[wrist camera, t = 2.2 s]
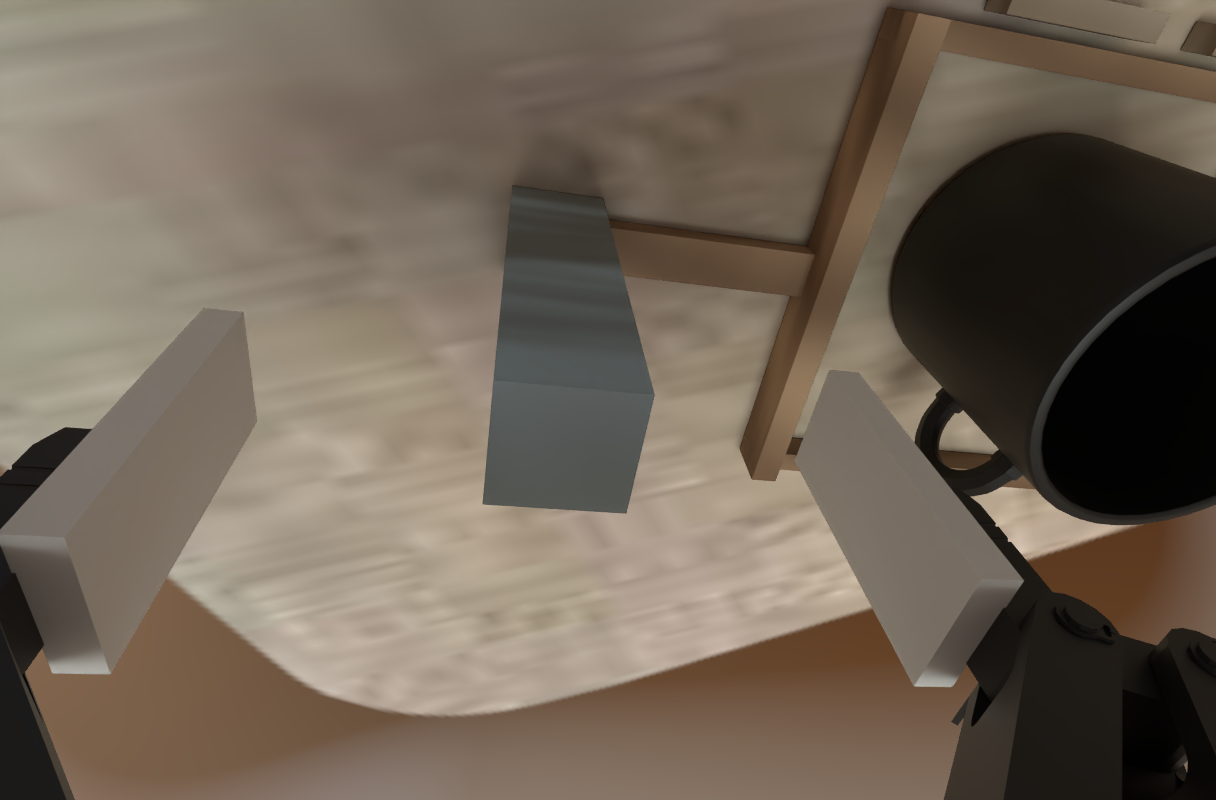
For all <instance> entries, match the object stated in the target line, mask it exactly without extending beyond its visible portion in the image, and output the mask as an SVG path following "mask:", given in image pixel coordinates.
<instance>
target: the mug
mask: <svg viewBox="0 0 1216 800" xmlns="http://www.w3.org/2000/svg"><path fill="white" fill-rule="evenodd" d="M892 306H893V316H894V320H895V324H896V328H897V331H898V333H899V335H900V337H901V339H902V341H903V343H904V344H905V346H906V347H907V348H908V350H909V351H910V352H911V353H912V354H913V355H914V357H915V358H916V359H917V360H918V361H919V362H920V363H921V364H922V365H923V366H924V368H925V369H926V370H927V371H928V372H929V373H930V374H931V375H932V376H933V377H934V378H935V380H936V381H937V382H938V383H939V384H940V385H941V386H942V387H943V388H942V389H941V390H940V391H938V392H937V393H936V399H935V400H934V401H933V403H932V404H931V405H930V406H929V408H928V409H927V410H926V412H925V413H924V415H923V417H922V419H921V421H920V423H919V426H918V429H917V432H916V436H915V444H916V445H917V447H918V448H919V449H920V451H921V452H922V453H923V454H924V456H925V457H926V458H927V459H928V461H929V462H930V463H931V464H932V466H933V467H934V468H935V469H936V471H937V472H938V473H939V474H940V476H941V477H942V478H943V479H944V481H945V482H946V483H947V484H948V486H949V487H955V488H959V489H960V490H962V491H963V492H964V493H966V494H967V495H968V496H977V495H982V494H987V493H990V492H992V491H994V490H996V489H998V488H1000V487H1001V486H1003V485H1005V484H1007V483H1008V482H1010V481H1012V480H1015V481H1016V480H1018V479H1019V478H1020V477H1021V476H1024V477H1025V478H1026V479H1027V480H1028V481H1029V482H1030V484H1031V485H1032V486H1033V487H1034V488H1035V489H1036V490H1037V491H1038V492H1039V493H1040V494H1041V495H1042V497H1043V498H1044V499H1046V500H1047V501H1048V502H1049V503H1051V504H1052V505H1053V506H1054V507H1056V508H1057V509H1059V510H1061V511H1063V512H1065V513H1067V514H1069V515H1071V516H1073V517H1076V518H1079V519H1082V520H1086V521H1089V522H1093V523H1099V524H1109V525H1139V524H1146V523H1152V522H1159V521H1164V520H1169V519H1173V518H1176V517H1181V516H1185V515H1188V514H1191V513H1194V512H1197V511H1200V510H1203V509H1206V508H1209V507H1211V506H1213V505H1216V178H1213V177H1210V176H1207V175H1205V174H1202V173H1199V172H1196V171H1193V170H1190V169H1187V168H1184V167H1182V166H1179V165H1176V164H1173V163H1170V162H1167V161H1164V160H1161V159H1159V158H1156V157H1153V156H1150V155H1147V154H1144V153H1141V152H1138V151H1136V150H1133V149H1130V148H1127V147H1124V146H1121V145H1118V144H1115V143H1113V142H1110V141H1107V140H1104V139H1100V138H1096V137H1091V136H1087V135H1075V134H1060V135H1053V136H1046V137H1041V138H1036V139H1033V140H1029V141H1026V142H1022V143H1019V144H1016V145H1012V146H1010V147H1008V148H1005V149H1003V150H1001V151H999V152H996V153H994V154H992V155H990V156H988V157H987V158H985V159H983V160H982V161H980V162H978V163H977V164H975V165H973V166H972V167H970V168H969V169H968V170H966V171H965V172H964V173H962V174H961V175H960V176H959V177H957V178H956V179H955V180H954V181H952V182H951V183H950V184H949V185H948V186H947V187H946V188H945V189H944V190H943V191H942V192H941V193H940V194H939V195H938V196H937V197H936V198H935V199H934V200H933V201H932V202H931V204H930V205H929V206H928V207H927V209H926V210H925V211H924V212H923V214H922V215H921V216H920V218H919V219H918V221H917V222H916V224H915V226H914V227H913V229H912V230H911V232H910V234H909V235H908V237H907V240H906V242H905V244H904V246H903V248H902V251H901V253H900V256H899V259H898V262H897V266H896V269H895V272H894V279H893V287H892ZM962 410H964V411H965V412H966V413H967V415H968V416H969V417H970V418H971V419H972V420H973V421H974V422H975V423H976V424H977V426H978V427H979V428H980V429H981V430H982V431H983V432H984V433H985V434H986V435H987V436H988V438H989V439H990V440H991V441H992V442H993V443H994V444H995V445H996V446H997V447H998V449H999V450H998V451H996V452H995V453H994V454H993V455H992V456H991V460H989V461H987V462H986V463H984V464H982V465H980V466H978V467H976V468H972V469H968V470H956V469H952V468H950V467H948V466H947V465H946V464H945V463H944V462H943V461H942V459H941V457H940V455H939V441H940V437H941V434H942V431H943V429H944V427H945V425H946V424H947V422H948V421H949V420H950V418H951V417H952V416H953V415H954V413H960V412H961V411H962Z"/></svg>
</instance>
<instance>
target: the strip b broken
mask: <svg viewBox="0 0 1216 800" xmlns="http://www.w3.org/2000/svg"><path fill="white" fill-rule="evenodd" d="M984 10H985V11H990V12H994V13H999V14H1004V15H1009V16H1014V17H1019V18H1024V19H1029V20H1034V21H1039V22H1044V23H1049V24H1054V25H1059V26H1064V27H1069V28H1074V29H1079V30H1084V31H1089V32H1094V33H1098V34H1103V35H1108V36H1113V37H1118V38H1123V39H1129V40H1135V41H1141V42H1147V43H1153V44H1156V42H1157V40H1158V38H1159V36H1160V34H1161V32H1162V30H1163V28H1164V27H1165V25H1166V23H1167V21H1168V19H1169V17H1170V15H1171V13H1166V12H1161V11H1156V10H1152V9H1147V8H1142V7H1137V6H1133V5H1128V4H1123V3H1118V2H1114V1H1109V0H988V1H987V4H986V6H985V9H984ZM1181 50H1183V51H1188V52H1193V53H1198V54H1203V55H1207V56H1212V57H1216V24H1210V23H1202V22H1196V24H1195V26H1194V27H1193V29H1192V31H1191V33H1190V35H1189V36H1188V38H1187V40H1186V42H1185V44H1184V45H1183V47H1182V49H1181Z"/></svg>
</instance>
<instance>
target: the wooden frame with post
mask: <svg viewBox="0 0 1216 800" xmlns="http://www.w3.org/2000/svg"><path fill="white" fill-rule="evenodd" d="M939 51H945V52H950V53H955V54H961V55H966V56H971V57H977V58H982V59H987V60H992V61H998V62H1003V63H1008V64H1014V65H1019V66H1024V67H1029V68H1035V69H1040V70H1045V71H1051V72H1056V73H1061V74H1066V75H1072V76H1077V77H1082V78H1088V79H1093V80H1098V81H1103V82H1109V83H1114V84H1119V85H1125V86H1130V87H1135V88H1140V89H1146V90H1151V91H1156V92H1162V93H1167V94H1172V95H1177V96H1183V97H1188V98H1193V99H1199V100H1204V101H1209V102H1215V103H1216V72H1213V71H1208V70H1203V69H1198V68H1193V67H1188V66H1183V65H1178V64H1173V63H1167V62H1162V61H1157V60H1152V59H1147V58H1142V57H1137V56H1132V55H1127V54H1122V53H1117V52H1112V51H1107V50H1102V49H1097V48H1092V47H1087V46H1081V45H1076V44H1071V43H1066V42H1061V41H1056V40H1051V39H1046V38H1041V37H1036V36H1031V35H1026V34H1021V33H1016V32H1011V31H1006V30H1001V29H995V28H990V27H985V26H980V25H975V24H970V23H965V22H960V21H955V20H951V19H946V18H941V17H936V16H930V15H925V14H920V13H915V12H910V11H904V10H899V9H894V8H887V11H886V14H885V17H884V20H883V23H882V25H881V28H880V31H879V34H878V37H877V40H876V43H875V46H874V49H873V52H872V55H871V58H870V61H869V64H868V67H867V70H866V73H865V76H864V79H863V82H862V85H861V88H860V91H859V94H858V97H857V100H856V103H855V106H854V109H853V112H852V115H851V118H850V121H849V124H848V127H847V130H846V133H845V136H844V139H843V142H842V145H841V148H840V151H839V154H838V157H837V160H836V163H835V166H834V169H833V172H832V175H831V178H830V181H829V184H828V187H827V190H826V193H825V196H824V199H823V202H822V205H821V208H820V211H819V214H818V217H817V220H816V223H815V226H814V229H813V232H812V235H811V237H810V240H809V243H808V246H800V245H792V244H785V243H777V242H770V241H762V240H755V239H748V238H740V237H733V236H725V235H718V234H710V233H703V232H695V231H688V230H680V229H673V228H665V227H658V226H650V225H643V224H635V223H628V222H620V221H613V220H609V219H608V215H607V212H606V208H605V204H604V200H603V198H597V197H590V196H583V195H575V194H568V193H561V192H554V191H547V190H539V189H532V188H525V187H518V186H512V194H511V205H510V215H509V225H508V236H507V246H506V256H505V267H504V277H503V288H502V298H501V308H500V319H499V329H498V339H497V350H496V360H495V371H494V381H493V392H492V404H491V415H490V426H489V438H488V449H487V460H486V472H485V483H484V494H483V504H485V505H501V506H517V507H532V508H548V509H564V510H579V511H595V512H611V513H627V508H628V504H629V500H630V496H631V492H632V488H633V483H634V479H635V475H636V471H637V467H638V462H639V458H640V454H641V450H642V446H643V442H644V437H645V433H646V429H647V425H648V421H649V417H650V412H651V408H652V404H653V400H654V396H655V395H654V391H653V387H652V383H651V380H650V376H649V372H648V368H647V364H646V360H645V357H644V353H643V349H642V345H641V341H640V338H639V334H638V330H637V326H636V322H635V318H634V315H633V311H632V307H631V303H630V299H629V296H628V292H627V288H626V284H625V280H624V276H630V277H639V278H647V279H655V280H663V281H672V282H680V283H688V284H697V285H705V286H713V287H721V288H730V289H738V290H746V291H755V292H763V293H771V294H779V295H788V296H791V297H790V300H789V303H788V306H787V309H786V312H785V315H784V318H783V321H782V324H781V327H780V330H779V333H778V336H777V339H776V342H775V345H774V348H773V351H772V354H771V357H770V360H769V363H768V366H767V369H766V372H765V375H764V378H763V381H762V384H761V387H760V390H759V393H758V396H757V399H756V402H755V405H754V408H753V411H752V414H751V417H750V420H749V423H748V426H747V429H746V432H745V435H744V438H743V441H742V444H741V446H740V451H741V454H742V456H743V459H744V461H745V464H746V466H747V469H748V471H749V474H750V476H751V479H752V480H765V481H776V478H777V475H778V473H779V470H793V471H800V470H799V468H798V466H797V465H796V463H795V458H796V456H797V453H798V451H799V448H800V445H801V443H802V440H803V439H797V438H792V436H793V434H794V431H795V428H796V426H797V423H798V420H799V418H800V415H801V413H802V410H803V407H804V405H805V402H806V400H807V397H808V394H809V392H810V389H811V386H812V384H813V381H814V379H815V376H816V373H817V371H818V368H819V365H820V363H821V360H822V358H823V355H824V352H825V350H826V347H827V345H828V342H829V339H830V337H831V334H832V331H833V329H834V326H835V324H836V321H837V318H838V316H839V313H840V310H841V308H842V305H843V303H844V300H845V297H846V295H847V292H848V290H849V287H850V284H851V282H852V279H853V276H854V274H855V271H856V269H857V266H858V263H859V261H860V258H861V255H862V253H863V250H864V248H865V245H866V242H867V240H868V237H869V235H870V232H871V229H872V227H873V224H874V221H875V219H876V216H877V214H878V211H879V208H880V206H881V203H882V200H883V198H884V195H885V193H886V190H887V187H888V185H889V182H890V180H891V177H892V174H893V172H894V169H895V166H896V164H897V161H898V159H899V156H900V153H901V151H902V148H903V145H904V143H905V140H906V138H907V135H908V132H909V130H910V127H911V124H912V122H913V119H914V117H915V114H916V111H917V109H918V106H919V104H920V101H921V98H922V96H923V93H924V90H925V88H926V85H927V83H928V80H929V77H930V75H931V72H932V69H933V67H934V64H935V62H936V59H937V56H938V54H939ZM939 455H940V457H941V459H942V461H943V462H944V463H945V464H946V465H947V466H948V467H950V468H952V469H956V470H968V469H972V468H976V467H978V466H980V465H982V464H984V463H986V462H987V461H989V460H991V456H992V455H984V454H973V453H961V452H949V451H939ZM1001 487H1013V488H1026V489H1035V488H1034V487H1033V486H1032V485H1031V484H1030V482H1029V481H1028V480H1027V479H1026V478H1025V477H1024V476H1021V477H1020V478H1019V479H1018V480H1016V481H1015V480H1012V481H1010V482H1008V483H1007V484H1005V485H1003V486H1001Z"/></svg>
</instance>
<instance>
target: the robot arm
mask: <svg viewBox="0 0 1216 800" xmlns="http://www.w3.org/2000/svg"><path fill="white" fill-rule="evenodd" d="M256 422H257V416H256V408H255V400H254V392H253V384H252V376H251V368H250V360H249V352H248V344H247V336H246V328H245V321H244V313H243V312H238V311H228V310H217V309H207V308H203V309H202V310H201V311H200V313H199V314H198V315H197V316H196V317H195V318H194V319H193V320H192V321H191V322H190V323H189V325H188V326H187V327H186V328H185V329H184V330H183V331H182V332H181V333H180V334H179V335H178V337H177V338H176V339H175V340H174V341H173V342H172V343H171V344H170V345H169V346H168V347H167V349H166V350H165V351H164V352H163V353H162V354H161V355H160V356H159V357H158V358H157V359H156V361H155V362H154V363H153V364H152V365H151V366H150V367H149V368H148V369H147V370H146V371H145V372H144V374H143V375H142V376H141V377H140V378H139V379H138V380H137V381H136V382H135V383H134V384H133V386H132V387H131V388H130V389H129V390H128V391H127V392H126V393H125V394H124V395H123V396H122V398H121V399H120V400H119V401H118V402H117V403H116V404H115V405H114V406H113V407H112V408H111V410H110V411H109V412H108V413H107V414H106V415H105V416H104V417H103V418H102V419H101V420H100V422H99V423H98V424H97V425H96V426H95V427H94V428H93V429H82V428H68V427H65V428H63V429H61V430H59V431H57V432H56V433H54V434H52V435H50V436H48V437H46V438H44V439H42V440H41V441H39V442H37V443H35V444H33V445H32V446H31V447H30V448H29V449H28V450H27V451H26V452H25V453H24V454H23V455H22V456H21V457H20V458H19V459H18V460H17V461H16V462H15V463H14V464H13V465H12V469H11V470H7V471H6V472H5V473H4V474H3V475H2V476H1V477H0V800H75V799H74V796H73V794H72V791H71V789H70V786H69V783H68V781H67V778H66V776H65V773H64V771H63V768H62V765H61V763H60V760H59V758H58V755H57V753H56V750H55V748H54V745H53V742H52V740H51V737H50V735H49V732H48V730H47V727H46V724H45V722H44V719H43V717H42V714H41V712H40V709H39V706H38V704H37V701H36V699H35V696H34V694H33V691H32V688H31V686H30V683H29V681H28V679H27V677H26V674H25V671H26V670H27V669H28V667H29V666H30V664H31V663H32V661H33V660H34V659H35V657H36V656H37V654H38V653H39V651H40V650H41V649H43V651H44V653H45V656H46V658H47V661H48V663H49V665H50V668H51V670H52V673H68V674H70V673H71V674H111V672H112V671H113V669H114V667H115V665H116V663H117V662H118V660H119V658H120V657H121V655H122V653H123V651H124V650H125V648H126V646H127V645H128V643H129V641H130V639H131V638H132V636H133V634H134V633H135V631H136V629H137V627H138V626H139V624H140V622H141V621H142V619H143V617H144V615H145V614H146V612H147V610H148V608H149V607H150V605H151V603H152V601H153V600H154V598H155V596H156V595H157V593H158V591H159V589H160V588H161V586H162V584H163V583H164V581H165V579H166V577H167V576H168V574H169V572H170V571H171V569H172V567H173V565H174V564H175V562H176V560H177V558H178V557H179V555H180V553H181V552H182V550H183V548H184V546H185V545H186V543H187V541H188V539H189V538H190V536H191V534H192V533H193V531H194V529H195V527H196V526H197V524H198V522H199V521H200V519H201V517H202V515H203V514H204V512H205V510H206V508H207V507H208V505H209V503H210V502H211V500H212V498H213V496H214V495H215V493H216V491H217V489H218V488H219V486H220V484H221V483H222V481H223V479H224V477H225V476H226V474H227V472H228V471H229V469H230V467H231V465H232V464H233V462H234V460H235V458H236V457H237V455H238V453H239V452H240V450H241V448H242V446H243V445H244V443H245V441H246V439H247V438H248V436H249V434H250V433H251V431H252V429H253V427H254V426H255V424H256ZM795 463H796V465H797V466H798V468H799V470H800V472H801V474H802V476H803V478H804V480H805V482H806V483H807V485H808V487H809V489H810V491H811V493H812V495H813V497H814V499H815V500H816V502H817V504H818V506H819V508H820V510H821V512H822V514H823V516H824V517H825V519H826V521H827V523H828V525H829V527H830V529H831V531H832V532H833V534H834V536H835V538H836V540H837V542H838V544H839V546H840V548H841V549H842V551H843V553H844V555H845V557H846V559H847V561H848V563H849V565H850V566H851V568H852V570H853V572H854V574H855V576H856V578H857V580H858V582H859V583H860V585H861V587H862V589H863V591H864V593H865V595H866V597H867V599H868V600H869V602H870V604H871V606H872V608H873V610H874V612H875V613H876V616H877V617H878V619H879V621H880V623H881V625H882V627H883V629H884V630H885V633H886V634H887V636H888V638H889V640H890V642H891V644H892V646H893V648H894V650H895V651H896V653H897V655H898V657H899V659H900V661H901V662H902V665H903V667H904V668H905V670H906V672H907V674H908V676H909V678H910V680H911V682H912V683H913V685H914V686H922V687H926V686H928V687H952V686H953V685H954V683H955V682H956V680H957V679H958V678H959V676H960V675H961V673H962V672H963V670H964V669H965V667H966V666H967V665H968V667H969V668H970V670H971V671H972V673H973V675H974V676H975V678H976V680H977V681H978V684H977V686H976V687H975V689H974V690H973V691H972V693H971V694H970V696H969V697H968V698H967V700H966V701H965V703H964V704H963V706H962V707H961V708H960V710H959V711H958V713H957V714H956V715H955V717H954V718H953V720H952V721H951V722H953V723H954V724H956V725H958V724H959V723H960V722H961V720H962V719H963V718H964V720H963V724H962V728H961V732H960V736H959V741H958V745H957V749H956V752H955V757H954V761H953V765H952V769H951V773H950V777H949V781H948V785H947V789H946V793H945V797H944V800H1216V639H1214V638H1211V637H1209V636H1207V635H1204V634H1202V633H1200V632H1197V631H1193V630H1189V629H1184V628H1178V629H1171V631H1170V632H1169V633H1168V634H1167V635H1166V636H1165V637H1164V638H1163V640H1162V641H1161V642H1160V643H1159V644H1158V645H1157V646H1156V645H1153V644H1149V643H1145V642H1142V641H1139V640H1135V639H1132V638H1128V637H1125V636H1122V635H1120V634H1119V633H1118V631H1117V630H1116V628H1115V627H1114V626H1113V625H1112V623H1111V622H1110V621H1109V620H1108V619H1107V618H1106V617H1105V616H1103V615H1102V614H1101V613H1100V612H1099V611H1097V610H1096V609H1095V608H1093V607H1091V606H1090V605H1088V604H1086V603H1085V602H1083V601H1081V600H1079V599H1077V598H1074V597H1071V596H1069V595H1066V594H1061V593H1054V592H1052V591H1051V590H1050V589H1049V587H1048V586H1047V585H1046V584H1045V582H1044V581H1043V580H1042V579H1041V578H1040V576H1039V575H1038V574H1037V573H1036V572H1035V570H1034V569H1033V568H1032V567H1031V566H1030V564H1029V563H1028V562H1027V561H1026V559H1025V558H1024V557H1023V556H1022V555H1021V553H1020V552H1019V551H1018V550H1017V549H1016V547H1015V546H1014V545H1013V544H1012V542H1008V538H1007V536H1006V535H1005V534H1004V533H1003V532H1002V530H1001V529H1000V528H999V527H996V526H995V524H996V523H995V522H994V521H993V519H992V518H991V517H990V516H989V515H988V513H987V512H986V511H985V510H984V509H983V507H982V506H981V505H980V504H979V503H977V502H976V501H975V500H973V499H972V498H971V497H970V496H968V495H967V494H966V493H964V492H963V491H962V490H960V489H959V488H955V487H949V486H948V484H947V483H946V482H945V481H944V479H943V478H942V477H941V476H940V474H939V473H938V472H937V471H936V469H935V468H934V467H933V466H932V464H931V463H930V462H929V461H928V459H927V458H926V457H925V456H924V454H923V453H922V452H921V451H920V449H919V448H918V447H917V445H916V444H915V443H914V442H913V440H912V439H911V438H910V437H909V435H908V434H907V433H906V432H905V430H904V429H903V428H902V427H901V425H900V424H899V423H898V422H897V420H896V419H895V418H894V417H893V415H892V414H891V413H890V412H889V410H888V409H887V408H886V406H885V405H884V404H883V403H882V401H881V400H880V399H879V398H878V396H877V395H876V394H875V393H874V391H873V390H872V389H871V388H870V386H869V385H868V384H867V383H866V381H865V380H864V379H863V378H862V376H861V375H860V374H859V373H856V372H846V371H835V370H829V372H828V375H827V377H826V380H825V383H824V385H823V388H822V390H821V393H820V396H819V398H818V401H817V403H816V406H815V409H814V411H813V414H812V417H811V419H810V422H809V424H808V427H807V430H806V432H805V435H804V438H803V440H802V443H801V445H800V448H799V451H798V453H797V456H796V458H795ZM1187 761H1188V770H1187V772H1186V769H1185V767H1184V764H1185V763H1186V762H1187Z"/></svg>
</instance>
